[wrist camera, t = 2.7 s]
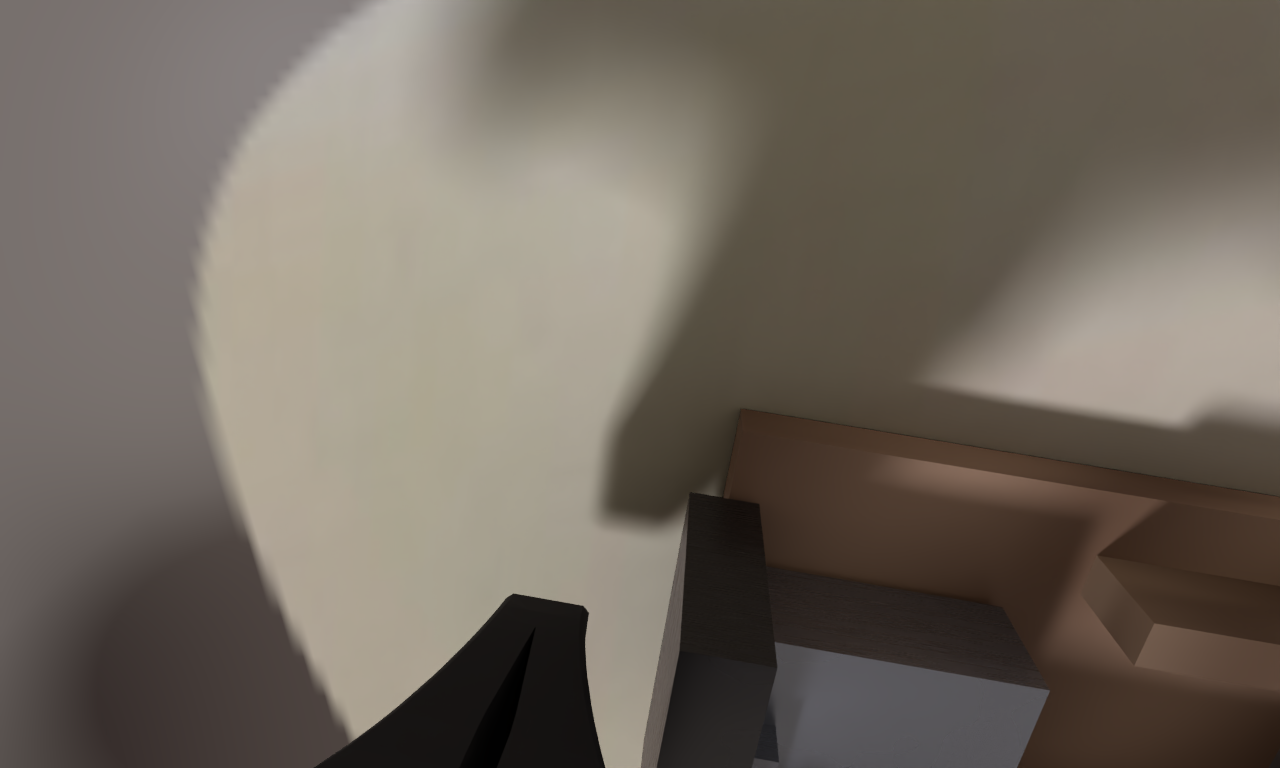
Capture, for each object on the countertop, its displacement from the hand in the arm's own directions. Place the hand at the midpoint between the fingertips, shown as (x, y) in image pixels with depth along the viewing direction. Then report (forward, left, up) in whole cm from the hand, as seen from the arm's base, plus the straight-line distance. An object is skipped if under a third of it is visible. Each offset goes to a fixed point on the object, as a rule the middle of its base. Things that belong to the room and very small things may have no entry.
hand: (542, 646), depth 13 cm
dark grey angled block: (-5, 0, -1) cm, 5 cm away
